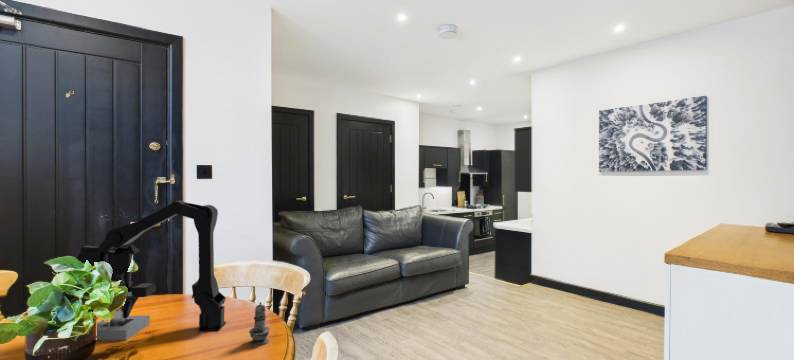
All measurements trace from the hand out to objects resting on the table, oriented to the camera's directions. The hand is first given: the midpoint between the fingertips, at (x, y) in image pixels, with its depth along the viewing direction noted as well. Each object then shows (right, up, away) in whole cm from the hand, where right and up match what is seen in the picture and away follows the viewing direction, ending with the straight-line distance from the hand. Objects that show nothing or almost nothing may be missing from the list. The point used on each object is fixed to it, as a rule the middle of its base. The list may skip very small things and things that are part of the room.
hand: (118, 317), depth 113 cm
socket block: (0, -5, 0) cm, 4 cm away
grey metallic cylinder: (0, -4, 0) cm, 4 cm away
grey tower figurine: (+46, -6, -4) cm, 46 cm away
